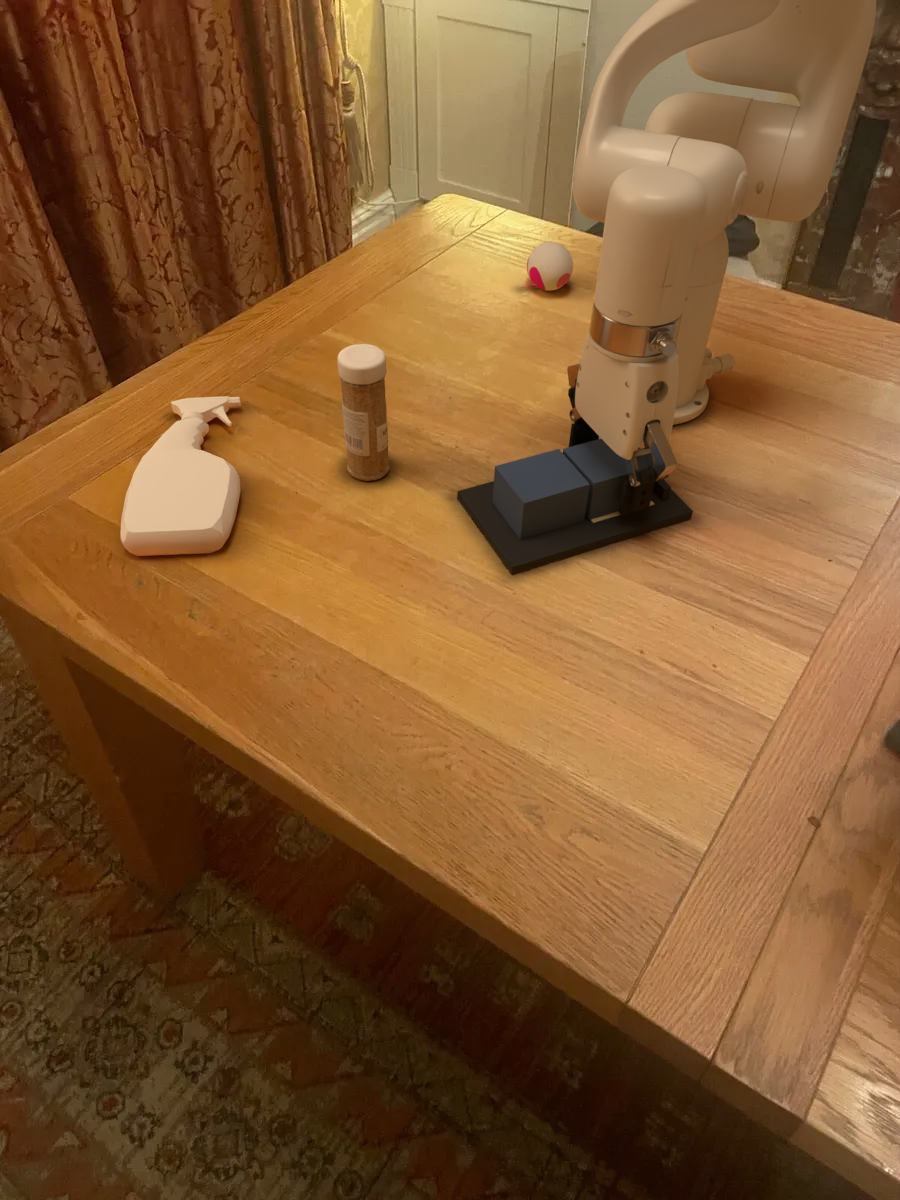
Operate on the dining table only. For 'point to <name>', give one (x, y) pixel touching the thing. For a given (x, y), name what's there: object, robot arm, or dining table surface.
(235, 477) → the spray bottle
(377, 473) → the sprinkles bottle
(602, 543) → the pad base
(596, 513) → the back pad
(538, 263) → the stress ball
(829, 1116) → the dining table surface
